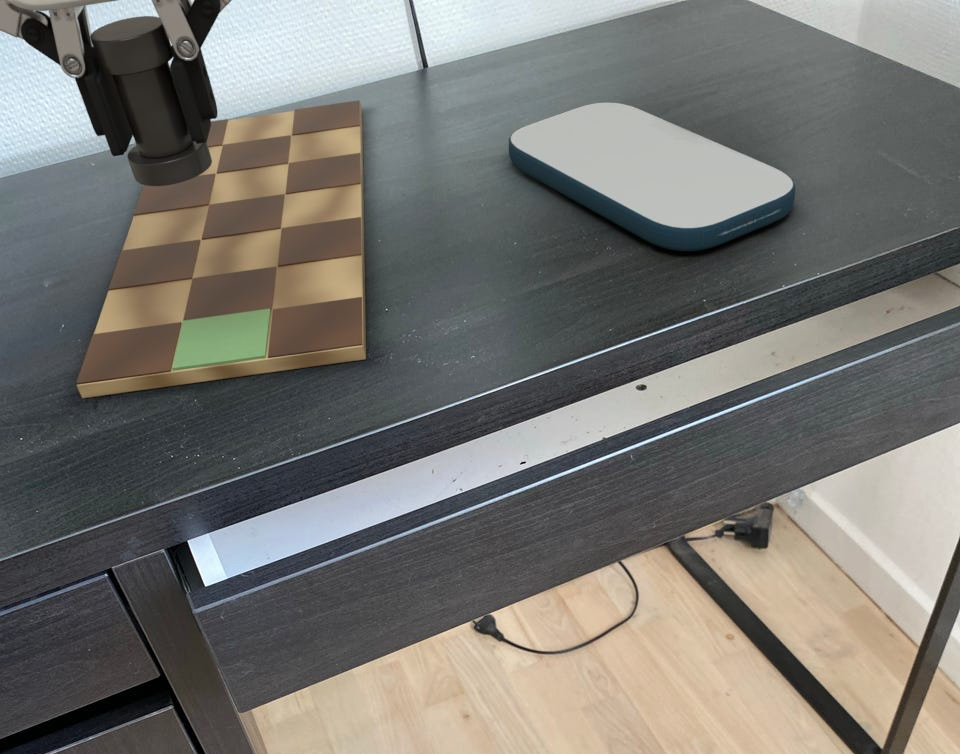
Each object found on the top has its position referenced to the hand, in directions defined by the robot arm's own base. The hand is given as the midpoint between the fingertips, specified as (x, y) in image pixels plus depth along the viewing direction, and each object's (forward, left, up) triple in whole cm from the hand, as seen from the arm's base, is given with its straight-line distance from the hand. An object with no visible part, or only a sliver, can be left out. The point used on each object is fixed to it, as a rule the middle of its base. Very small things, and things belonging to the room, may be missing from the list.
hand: (162, 136), depth 56 cm
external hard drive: (+30, +16, -14) cm, 37 cm away
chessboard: (0, +18, -13) cm, 23 cm away
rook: (0, 0, -2) cm, 2 cm away
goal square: (0, 0, -12) cm, 12 cm away
